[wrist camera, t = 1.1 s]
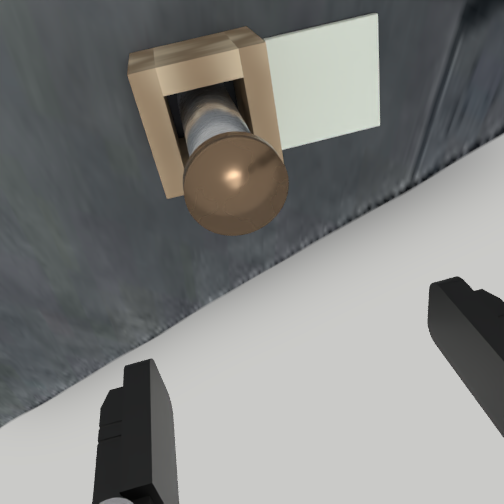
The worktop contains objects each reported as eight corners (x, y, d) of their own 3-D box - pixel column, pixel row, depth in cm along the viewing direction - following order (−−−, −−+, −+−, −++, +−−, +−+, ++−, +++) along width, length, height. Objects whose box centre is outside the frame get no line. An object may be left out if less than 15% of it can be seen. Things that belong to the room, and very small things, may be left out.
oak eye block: (246, 26, 32) (265, 42, 27) (265, 138, 36) (284, 169, 31) (129, 53, 31) (127, 74, 26) (163, 163, 36) (167, 199, 31)
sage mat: (374, 12, 33) (377, 13, 32) (377, 123, 37) (380, 125, 37) (263, 38, 32) (265, 40, 32) (279, 147, 37) (281, 150, 36)
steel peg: (228, 56, 32) (280, 127, 20) (241, 123, 35) (294, 221, 23) (160, 72, 32) (171, 154, 20) (178, 138, 35) (198, 246, 23)
